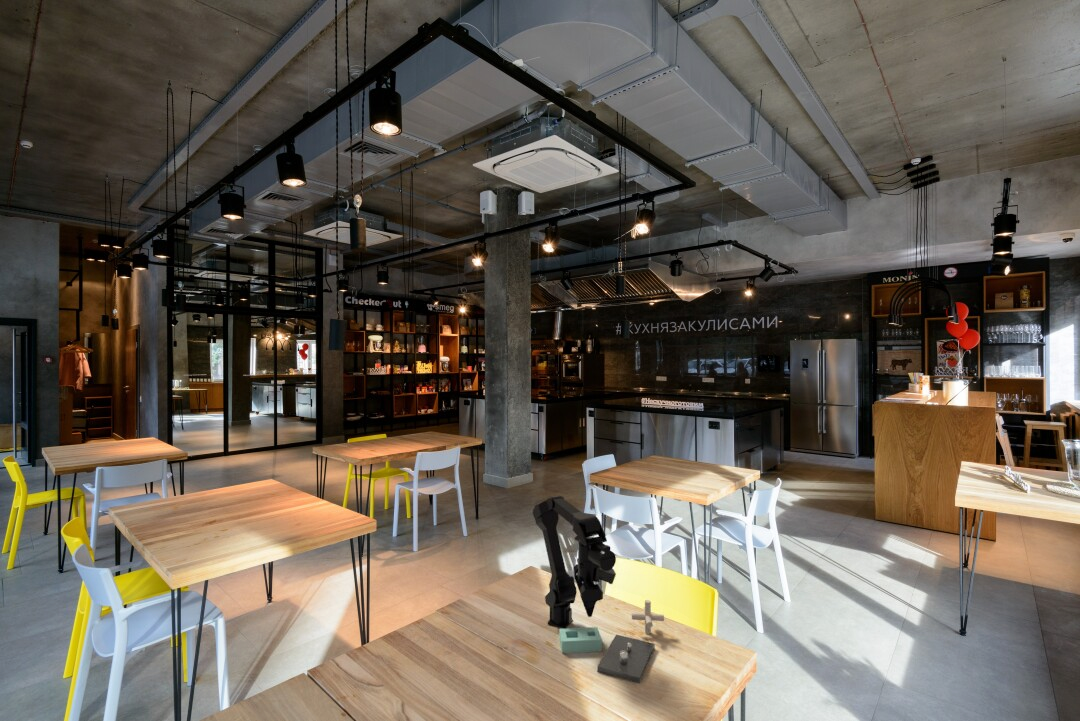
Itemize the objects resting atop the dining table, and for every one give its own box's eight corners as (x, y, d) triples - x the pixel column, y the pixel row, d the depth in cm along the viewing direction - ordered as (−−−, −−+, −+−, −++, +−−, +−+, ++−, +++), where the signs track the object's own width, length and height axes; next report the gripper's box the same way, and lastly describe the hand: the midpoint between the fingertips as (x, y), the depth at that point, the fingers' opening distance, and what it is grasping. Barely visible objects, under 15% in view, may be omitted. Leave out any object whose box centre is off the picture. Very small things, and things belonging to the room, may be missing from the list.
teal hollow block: (562, 653, 151) (562, 641, 151) (559, 640, 158) (559, 628, 158) (601, 651, 152) (601, 639, 152) (597, 638, 159) (597, 627, 159)
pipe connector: (661, 625, 167) (661, 594, 167) (666, 642, 157) (666, 609, 157) (630, 623, 168) (630, 593, 168) (633, 640, 158) (633, 608, 158)
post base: (597, 671, 143) (597, 657, 142) (616, 639, 159) (616, 626, 159) (639, 683, 137) (639, 668, 137) (654, 648, 154) (654, 635, 154)
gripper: (620, 570, 147) (620, 624, 147) (607, 545, 165) (606, 593, 166) (582, 571, 146) (582, 625, 146) (573, 546, 164) (572, 594, 165)
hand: (587, 608), depth 156 cm, fingers open, 9 cm apart
